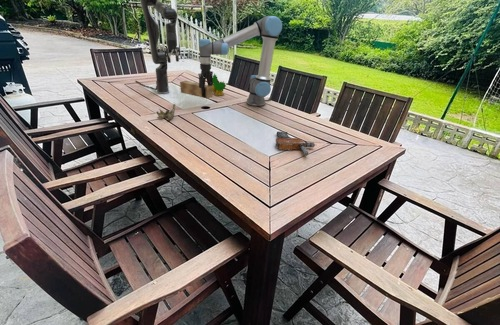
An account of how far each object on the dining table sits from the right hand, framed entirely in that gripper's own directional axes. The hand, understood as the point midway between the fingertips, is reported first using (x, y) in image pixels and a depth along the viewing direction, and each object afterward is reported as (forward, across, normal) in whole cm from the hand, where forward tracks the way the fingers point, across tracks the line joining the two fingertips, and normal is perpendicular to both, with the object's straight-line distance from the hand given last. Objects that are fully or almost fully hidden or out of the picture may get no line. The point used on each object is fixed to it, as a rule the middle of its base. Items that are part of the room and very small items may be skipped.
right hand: (206, 96), depth 194 cm
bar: (+1, 0, +10) cm, 10 cm away
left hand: (-19, +5, +36) cm, 41 cm away
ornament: (+10, +40, +17) cm, 45 cm away
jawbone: (+9, -33, +6) cm, 35 cm away
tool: (+10, -19, -82) cm, 85 cm away
